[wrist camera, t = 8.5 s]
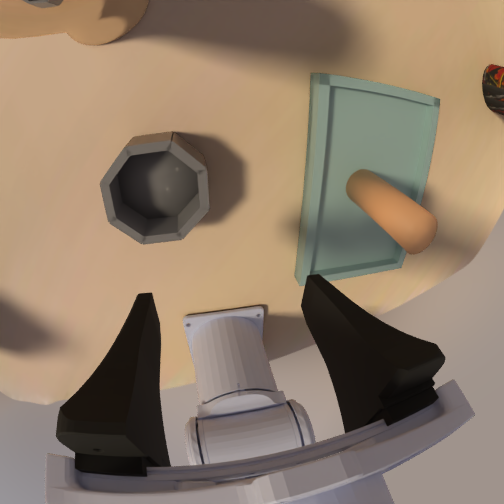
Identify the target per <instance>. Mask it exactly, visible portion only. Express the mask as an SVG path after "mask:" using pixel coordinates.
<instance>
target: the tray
mask: <svg viewBox="0 0 504 504" xmlns="http://www.w3.org/2000/svg"><path fill="white" fill-rule="evenodd" d="M439 106H440V99H438V98H435V97H432V96H429V95H425V94H422V93H418V92H415V91H411V90H407V89H403V88H399V87H395V86H391V85H387V84H382V83H378V82H373V81H368V80H362V79H357V78H351V77H344V76H338V75H330V74H322V73H311V81H310V103H309V122H308V138H307V152H306V166H305V178H304V190H303V201H302V211H301V222H300V231H299V241H298V250H297V259H296V267H295V278H296V280H297V282H298V284H299V286H304V285H305V284H306V278H307V275H314V274H320V275H321V276H322V277H323V278H325V279H326V280H327V281H334V280H339V279H345V278H351V277H356V276H362V275H367V274H372V273H378V272H383V271H388V270H393V269H398V268H401V267H402V264H403V261H404V258H405V255H406V252H407V251H406V250H405V249H404V248H402V247H401V246H400V245H399V244H398V243H397V242H396V241H395V240H394V239H393V238H392V237H391V236H390V235H389V234H388V233H387V232H386V231H385V230H384V229H383V228H382V227H381V226H380V225H378V224H377V223H376V222H375V221H374V220H373V219H372V218H371V217H370V216H369V215H368V214H366V213H365V212H364V211H363V210H362V209H361V208H360V207H359V206H357V205H356V204H355V203H354V202H353V201H352V200H351V199H350V198H349V197H348V196H347V193H346V184H347V181H348V179H349V177H350V176H351V175H352V174H353V173H354V172H356V171H357V170H360V169H367V170H369V171H371V172H372V173H374V174H375V175H377V176H379V177H380V178H382V179H383V180H385V181H386V182H388V183H389V184H391V185H392V186H393V187H395V188H396V189H398V190H399V191H401V192H402V193H404V194H405V195H406V196H408V197H409V198H411V199H412V200H413V201H415V202H416V203H417V204H419V205H421V201H422V197H423V193H424V189H425V185H426V181H427V176H428V172H429V167H430V162H431V157H432V152H433V146H434V141H435V135H436V128H437V121H438V114H439Z"/></svg>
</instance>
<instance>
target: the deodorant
mask: <svg viewBox="0 0 504 504" xmlns="http://www.w3.org/2000/svg"><path fill="white" fill-rule="evenodd" d="M482 87H483V95H484V99H485V102H486V104H487V106H488V107H489V109H490V110H492V111H494V112H497V113H499V114H502V115H504V67H501V66H497V65H493V64H491V65H489V66H487V67H486V69H485V71H484V75H483V82H482Z"/></svg>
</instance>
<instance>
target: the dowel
mask: <svg viewBox="0 0 504 504" xmlns="http://www.w3.org/2000/svg"><path fill="white" fill-rule="evenodd" d="M346 193H347V196H348V197H349V198H350V199H351V200H352V201H353V202H354V203H355V204H356V205H357V206H359V207H360V208H361V209H362V210H363V211H364V212H365V213H366V214H368V215H369V216H370V217H371V218H372V219H373V220H374V221H375V222H376V223H377V224H378V225H380V226H381V227H382V228H383V229H384V230H385V231H386V232H387V233H388V234H389V235H390V236H391V237H392V238H393V239H394V240H395V241H396V242H397V243H398V244H399V245H400V246H401V247H402V248H404V249H405V250H406V251H407V252H408V253H409V254H417V253H420V252H422V251H423V250H424V249H426V248H427V247H428V246H429V245H430V243H431V242H432V240H433V239H434V237H435V234H436V231H437V220H436V218H435V216H433V215H432V214H431V213H430V212H428V211H427V210H426V209H424V208H423V207H422V206H420V205H419V204H417V203H416V202H415V201H413V200H412V199H411V198H409V197H408V196H406V195H405V194H404V193H402V192H401V191H399V190H398V189H396V188H395V187H393V186H392V185H391V184H389V183H388V182H386V181H385V180H383V179H382V178H380V177H379V176H377V175H375V174H374V173H372V172H371V171H369V170H367V169H360V170H357V171H356V172H354V173H353V174H352V175H351V176H350V177H349V179H348V181H347V184H346Z"/></svg>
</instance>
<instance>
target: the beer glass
mask: <svg viewBox="0 0 504 504" xmlns="http://www.w3.org/2000/svg"><path fill="white" fill-rule="evenodd" d="M148 2H149V0H0V38H4V39H17V38H27V37H38V36H45V35H52V34H59V33H67V34H68V35H69V36H70V37H71V38H72V39H73V40H75V41H76V42H78V43H81V44H85V45H100V44H105V43H108V42H111V41H114V40H116V39H118V38H120V37H122V36H123V35H125V34H126V33H127V32H129V31H130V30H131V29H132V28H133V27H134V26H135V25H136V24H137V23H138V22H139V21H140V19H141V18H142V16H143V15H144V13H145V11H146V9H147V6H148Z"/></svg>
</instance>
